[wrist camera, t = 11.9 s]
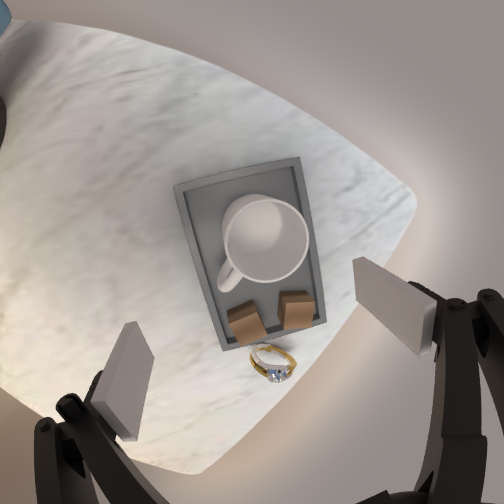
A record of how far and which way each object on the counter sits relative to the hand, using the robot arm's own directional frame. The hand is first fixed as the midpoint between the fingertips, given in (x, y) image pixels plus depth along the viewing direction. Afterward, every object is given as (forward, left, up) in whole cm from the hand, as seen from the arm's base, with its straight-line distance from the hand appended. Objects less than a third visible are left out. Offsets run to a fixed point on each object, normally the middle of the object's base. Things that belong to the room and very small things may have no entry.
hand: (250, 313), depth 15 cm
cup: (+1, +2, -22) cm, 22 cm away
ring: (+19, +2, -23) cm, 30 cm away
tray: (+4, +3, -23) cm, 23 cm away
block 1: (+12, -1, -22) cm, 25 cm away
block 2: (+12, +6, -22) cm, 26 cm away
